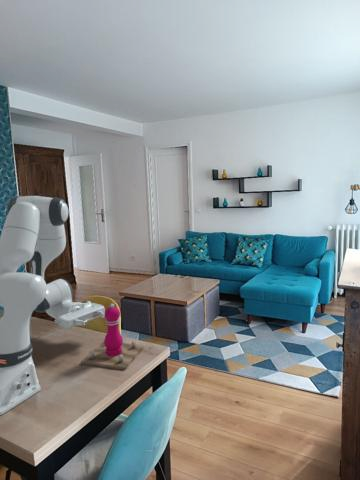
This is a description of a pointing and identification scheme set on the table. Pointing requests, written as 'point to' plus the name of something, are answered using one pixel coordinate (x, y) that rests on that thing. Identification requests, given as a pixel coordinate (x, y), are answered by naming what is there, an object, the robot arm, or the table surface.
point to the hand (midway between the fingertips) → (95, 319)
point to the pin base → (116, 362)
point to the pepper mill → (113, 332)
